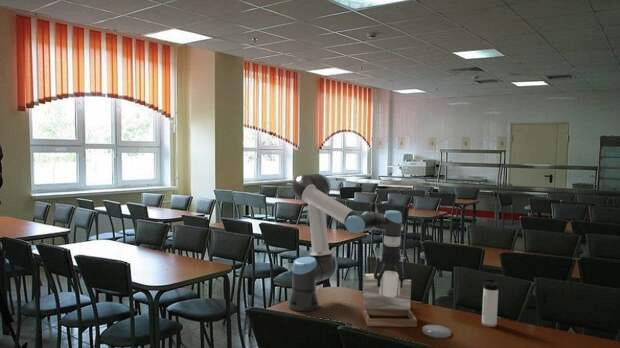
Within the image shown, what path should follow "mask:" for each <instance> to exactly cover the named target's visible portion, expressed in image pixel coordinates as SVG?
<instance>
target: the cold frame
mask: <svg viewBox="0 0 620 348" xmlns="http://www.w3.org/2000/svg"><path fill="white" fill-rule="evenodd" d="M411 293H412V280H411V279H407V280H403V283H402V288H400V295H396V296H395V297H386V296H383V295H380V294H379V287H378V286H377V279H365V278H364V280H363V303H362V305H363V307H362V309H363V310H362V315H363V319H364V321H365V324H366V326H367V327H405V328H406V327H407V328H408V327H409V328H410V327H411V328H412V327H413V328H414V327H415V328H416V327H418V319H417V318H416V316H415V315H414V313H413V312H412V311H411V297H412V296H411ZM370 316H380V317H381V316H385V317H387V316H391V317H392V316H394V317H395V316H396V317H397V316H398V317H408V318H370Z"/></svg>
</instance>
